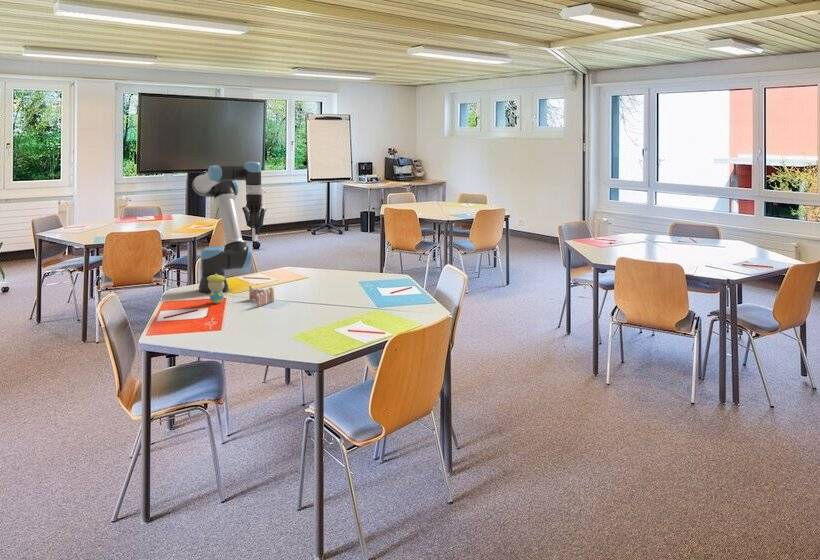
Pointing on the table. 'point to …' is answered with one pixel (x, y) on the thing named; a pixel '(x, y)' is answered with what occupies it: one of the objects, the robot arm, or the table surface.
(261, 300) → the fence wing
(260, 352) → the table surface
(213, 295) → the toy
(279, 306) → the card
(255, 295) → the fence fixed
